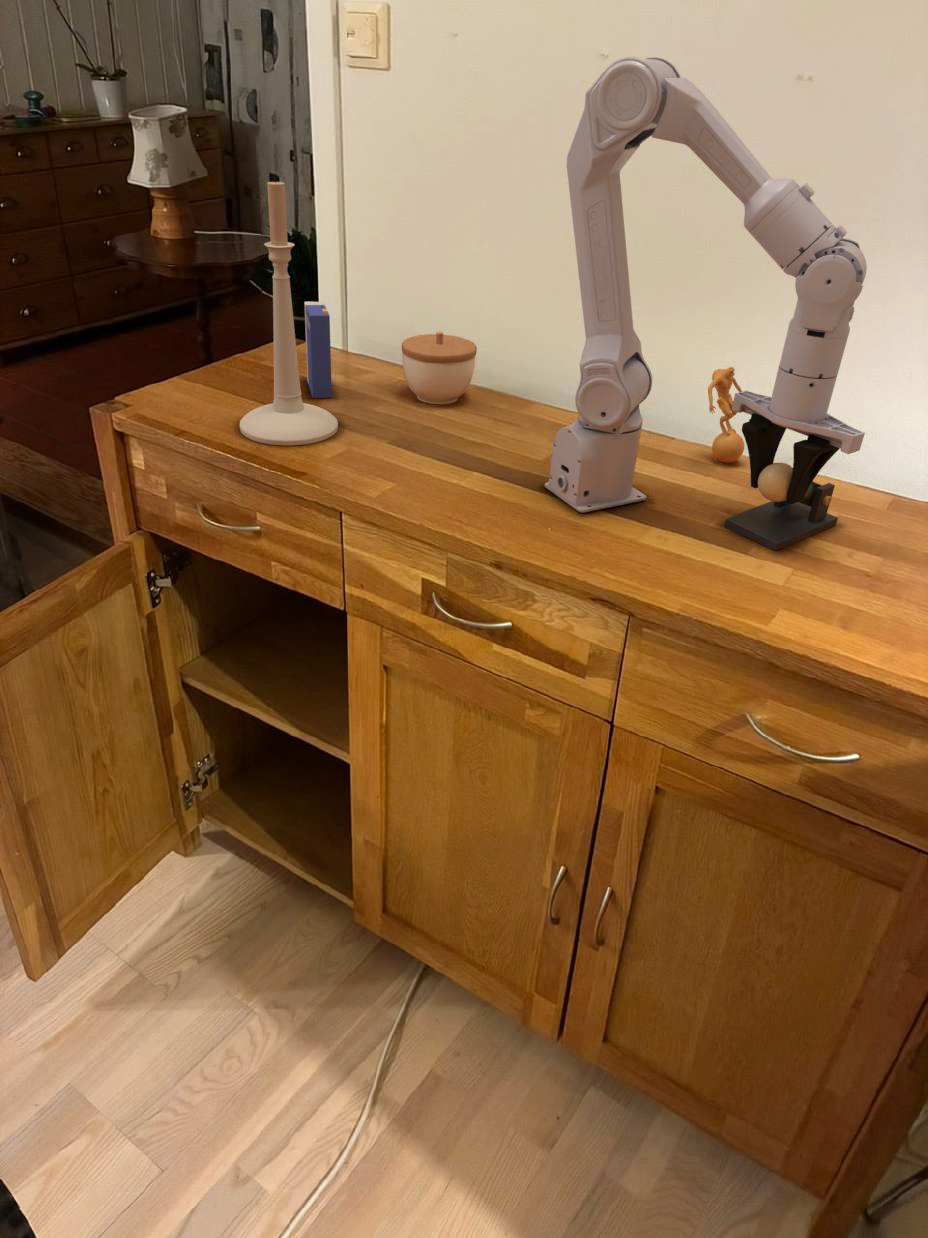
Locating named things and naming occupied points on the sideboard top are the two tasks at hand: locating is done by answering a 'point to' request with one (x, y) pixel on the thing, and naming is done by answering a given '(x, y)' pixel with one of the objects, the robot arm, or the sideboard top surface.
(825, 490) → the toy stand
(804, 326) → the robot arm
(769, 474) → the peg doll
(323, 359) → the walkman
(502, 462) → the sideboard top surface
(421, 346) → the trinket box
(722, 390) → the figurine
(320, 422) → the candlestick
